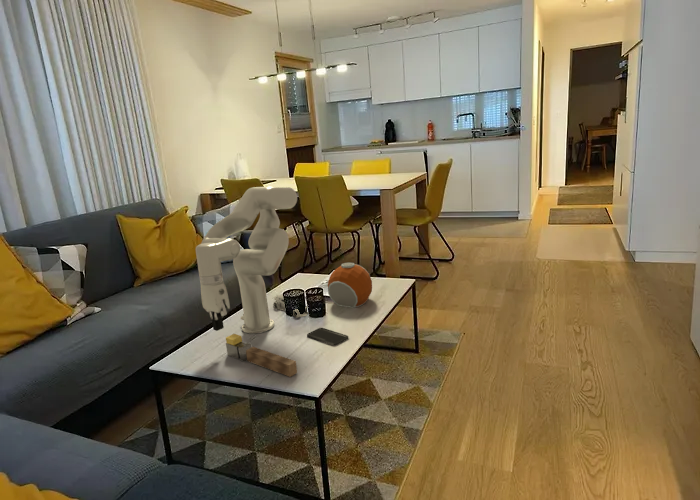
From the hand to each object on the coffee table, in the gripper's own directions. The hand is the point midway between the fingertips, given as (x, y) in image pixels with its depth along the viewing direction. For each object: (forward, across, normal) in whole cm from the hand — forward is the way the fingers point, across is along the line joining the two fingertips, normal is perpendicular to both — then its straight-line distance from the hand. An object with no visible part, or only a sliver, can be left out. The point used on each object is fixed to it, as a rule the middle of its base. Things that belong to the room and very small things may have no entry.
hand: (218, 329), depth 166 cm
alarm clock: (+7, -12, -59) cm, 61 cm away
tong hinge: (+9, -9, -1) cm, 13 cm away
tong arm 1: (+9, -25, 0) cm, 26 cm away
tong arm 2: (+8, -25, -2) cm, 26 cm away
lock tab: (+4, -7, -1) cm, 8 cm away
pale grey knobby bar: (+8, +7, -43) cm, 44 cm away
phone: (+8, -26, -27) cm, 39 cm away
